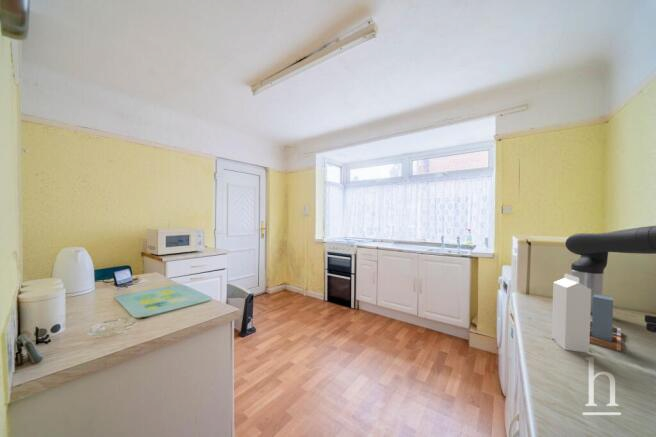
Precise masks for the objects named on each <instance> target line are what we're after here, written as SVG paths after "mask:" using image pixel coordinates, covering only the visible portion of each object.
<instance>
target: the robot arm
mask: <svg viewBox="0 0 656 437" xmlns="http://www.w3.org/2000/svg"><path fill="white" fill-rule="evenodd" d="M565 247H566V249H567V250H568V251H569V252H571V253H572V254H574V255H578V256H580V257H579V259H577V260H576V261H573V262H572V263H571V266H570V269H571V270H570V275H572V276H575V277H578V278H579V283H580V284H582V285H584V286H586V287H588V288H589V289H591V312H590V315H591V314H592V315H593V296H594V294H596V295H601V296H604V272H605V271H604V270H605V268H606V267H607V265H608V259H609V258H608V257H609V253H620V254H642V255H645V254H647V255H656V225H650V226H649V225H648V226H640V227H633V228H627V229H621V230H615V231H608V232H602V233H601V232H599V233H574V234H572V235H570V236H569V237H568V238H567V239H566V241H565ZM644 322H645V324H646V325H645V327H646V328H645V329H646V330H647V331H648V332H651V333H654V334H655V333H656V316H655V315H651V314H650V315H649V314H645V315H644Z"/></svg>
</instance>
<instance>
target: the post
mask: <svg viewBox="0 0 656 437" xmlns="http://www.w3.org/2000/svg"><path fill="white" fill-rule="evenodd" d="M613 313H614V297H611V296H605V295H603V296H601V295H596V294H594V296H593V314H592V317H591V318H592V337H593V338H597V339H600V340H604V341H608V342H611V343H612V327H613V315H614V314H613Z"/></svg>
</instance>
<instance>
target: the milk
mask: <svg viewBox="0 0 656 437" xmlns="http://www.w3.org/2000/svg"><path fill="white" fill-rule="evenodd" d="M552 289H553V290H552V318H551V320H552V321H551V341H553V342H554V343H556V345H558V346H559V347H561V348H562V349H563V350H564V351H573V352H580V353H590V343H589V342H590V321H591V313H590V312H591V289H589V288H588V287H586V286H584V285H582V284H580V283H579V278H578V277H575V276H572V275H571V274H569V273H564V274H563V278H561V279H558V280H555V281H553V286H552Z"/></svg>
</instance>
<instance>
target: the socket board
mask: <svg viewBox="0 0 656 437" xmlns="http://www.w3.org/2000/svg"><path fill="white" fill-rule="evenodd" d="M589 344H592V345H594V346H595V345H596V346H598V347H601V348H604V349H605V348H606V349H609V350H612V351H616V352H619V353H622V354H625V350H626V349H625V333H624V332H622V329H621V328H620V327H616V326H612V343H611V342H608V341H604V340H600V339H597V338H593V337H592V321H591V320H590V342H589Z"/></svg>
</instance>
